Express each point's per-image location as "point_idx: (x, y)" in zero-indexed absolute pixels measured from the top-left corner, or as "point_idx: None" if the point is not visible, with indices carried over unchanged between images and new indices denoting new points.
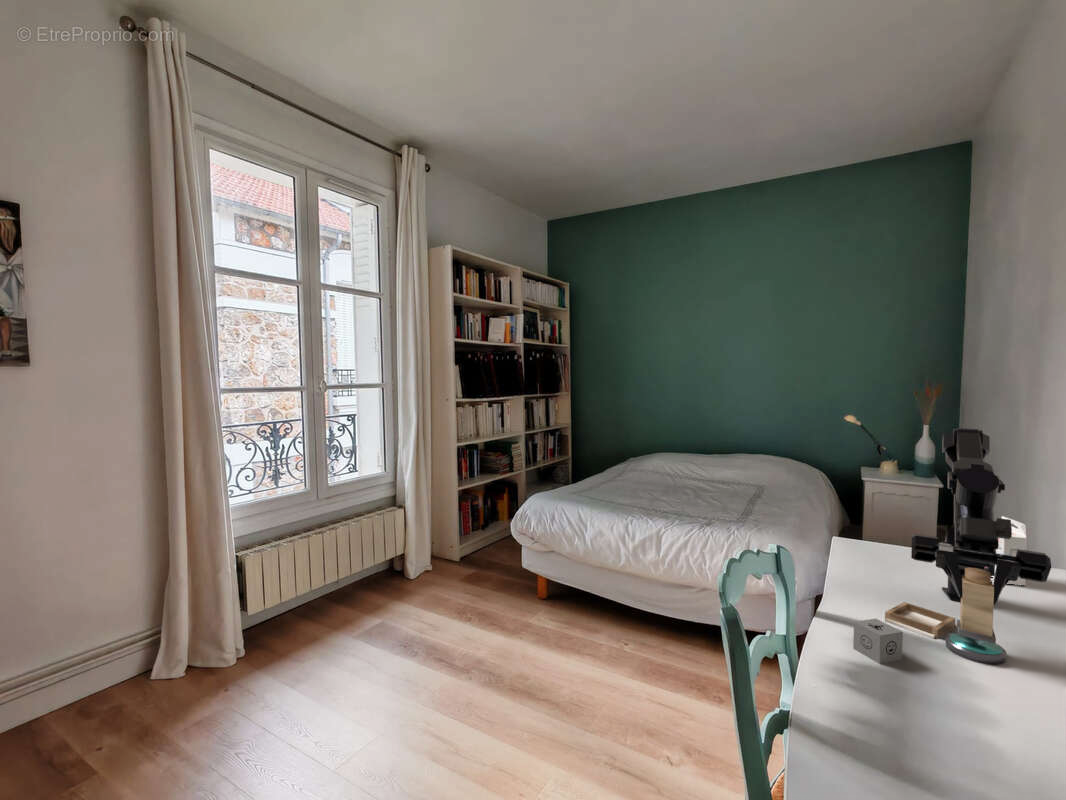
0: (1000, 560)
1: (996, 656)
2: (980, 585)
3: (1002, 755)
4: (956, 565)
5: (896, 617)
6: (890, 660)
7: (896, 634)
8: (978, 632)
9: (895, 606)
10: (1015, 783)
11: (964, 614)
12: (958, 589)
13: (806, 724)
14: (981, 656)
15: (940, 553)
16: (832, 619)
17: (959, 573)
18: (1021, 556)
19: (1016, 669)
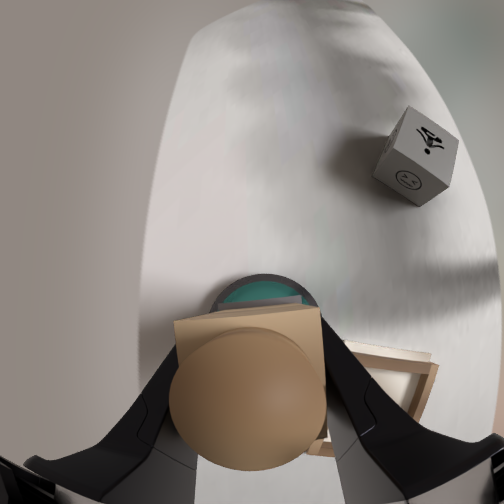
0: (88, 492)
1: (223, 293)
2: (234, 316)
3: (228, 41)
4: (372, 440)
5: (418, 362)
6: (382, 153)
7: (396, 136)
8: (255, 306)
9: (420, 416)
10: (221, 22)
11: (292, 304)
12: (329, 326)
13: (367, 10)
14: (251, 275)
15: (488, 436)
16: (488, 270)
17: (345, 396)
18: (2, 493)
19: (194, 299)
